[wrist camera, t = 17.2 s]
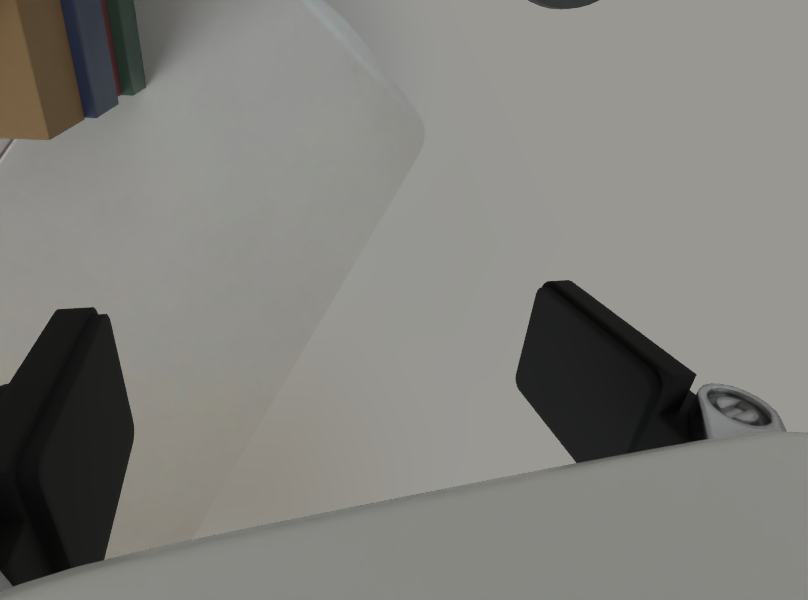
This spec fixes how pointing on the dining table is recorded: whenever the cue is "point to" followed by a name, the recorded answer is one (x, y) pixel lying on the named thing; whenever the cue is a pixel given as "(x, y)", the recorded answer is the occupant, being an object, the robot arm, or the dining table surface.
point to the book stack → (64, 63)
